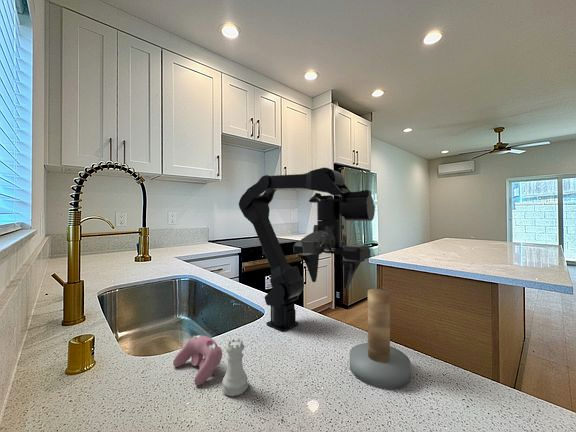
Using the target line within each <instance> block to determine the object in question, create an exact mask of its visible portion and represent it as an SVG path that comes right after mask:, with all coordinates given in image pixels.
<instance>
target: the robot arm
mask: <svg viewBox="0 0 576 432" xmlns="http://www.w3.org/2000/svg"><path fill="white" fill-rule="evenodd" d="M277 190H282V191H283V190H310V191H315V193H314V195H313V196H311V197H310V199H309V200H308V202H309V203H313V204H316V207H317V208H316V213H317V214H316V216H317V217H316V219H317V220H316V222H317V223H316V224H314V225H313V228H312V232H311V233H309V234H307V235H306V236H304V237H303V238H301V239H300V241H296V242H295V243H294V245H293V253H294V254H297V257H298V258H300V259H302V260H303V261H304V263H305V265H306V268H307V270H308V274H309V277H310V280H311V282H312V283H315V282H317V277H318V269H319V259H320V255H321V254H323V253H324V254H333V255H342V257H343V258H344V259H342V260H341V263H342V266H343V288H344V290H347V289H349V288H350V285H351V283H352V280H353V278H354V275H355V273H356V272H357V269H358V267H359V266H360V264H361V263H363V262H365V261H366V259H367V260H368V259H370V258H371V249H370V247H369V246H368V245H366V244H349V245H345V241H342V230H344V229H345V226H344V224H342V217H343V218H344V220H345V221H346V222H350V221H351V222H371V221H373V219H374V218H375V213H376V209H375V208H376V206H375V204H374V198H373V196H372V191H371V190H369V189H365V190H359V191H351V190H350V188H349V187H348V186H347V185H346V184H345V179H344V176H343V174H342V173H341V172H339V171H337V170H334V169H332V168H329V167H319V168H316V169H313V170H310V171H308V172H306V173H301V174H295V173H294V174H282V175H281V174H278V175H268V174H265V175H262V176H261V177H260V179H258V181H257V182H256V183H254V184H253V185H251V186H249V187H248V188H247V189H246V190H245V192H244V193H243V194H242V195H241V196H240V199H239V201H238V206H239V207H238V208H239V210H240V211H241V213H242V215H243V216H244V218H246V219H247V221H249V222H250V224H252V225H253V228H254V231H255V233H256V236H257V238H258V241H259V242H260V246H261V248H262V250H263V252H264V255H265V258H266V260H267V263H268V265H269V268H270V270H271V272H270V280H269V281H270V285H271V286H270V287H271V289H270V291H268V293H266V295H265V296H264V302H265V304H266V305H267V306H269V307H270V320H269V321H267V322H266V323H265V324H266V325H267V326H269V327H271V328H273V329H275V330H278V331H281V332H285V331H288V330H289V329H291V328H293V327H295V326H297V325H299V321H297V320H296V319H297V318H296V309H295V308H296V307H295V302H294V301H297V300H298V299H299V296H300V294H301V293H302V292H303V289H304V282H303V280H305V279H304V277H303V276H302V275H301V272H300V269H299V267H298V266H297V265H296V266H292V265H290V263H289V262H288V260H287V258H286V256H285V254H284V251H283V249H282V246H281V244H280V242H279V239H278V237H277V235H276V233H275V230H274V228H273V226H272V223H271V221H270V206H269V205H270V203H271V202H272V201H273V199H274V195H275V192H277ZM317 192H318V193H317ZM321 192H322V193H326V194H328V195H322V194H321ZM334 196H337V197H340V198H335V197H334Z"/></svg>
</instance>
